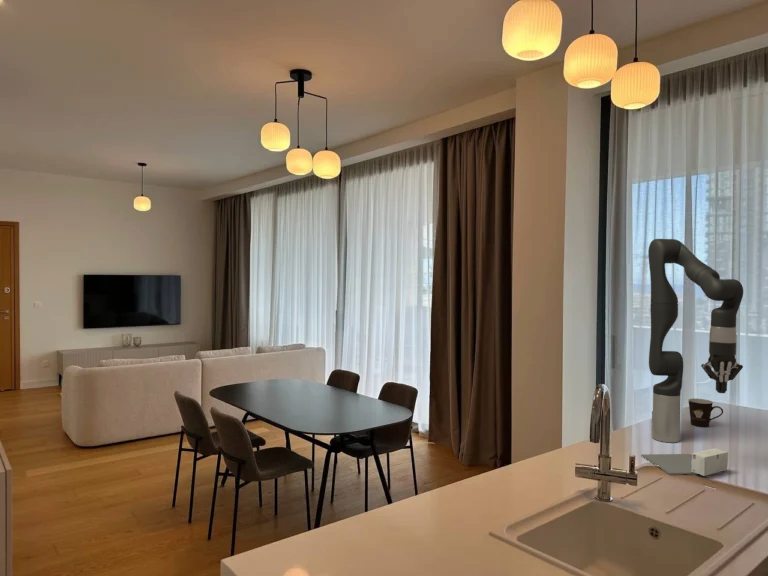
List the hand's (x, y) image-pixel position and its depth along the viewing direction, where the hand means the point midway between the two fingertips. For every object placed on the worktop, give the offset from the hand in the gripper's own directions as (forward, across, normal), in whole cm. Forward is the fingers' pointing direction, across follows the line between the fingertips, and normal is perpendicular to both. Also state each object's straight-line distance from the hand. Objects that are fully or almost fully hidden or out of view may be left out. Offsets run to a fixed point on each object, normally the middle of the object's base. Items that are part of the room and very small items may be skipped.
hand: (721, 392), depth 178 cm
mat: (+23, +14, +2) cm, 27 cm away
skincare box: (+20, +3, +6) cm, 21 cm away
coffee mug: (+24, -21, -42) cm, 53 cm away
